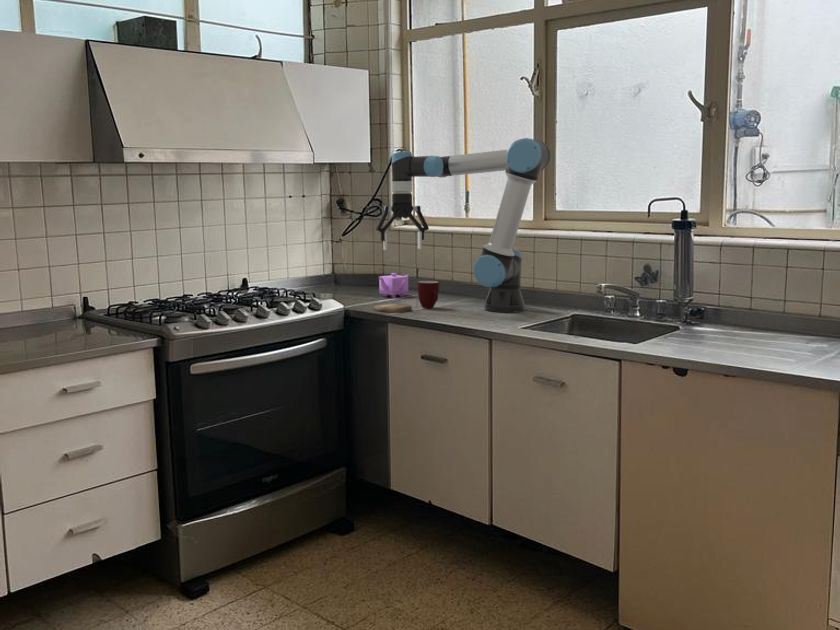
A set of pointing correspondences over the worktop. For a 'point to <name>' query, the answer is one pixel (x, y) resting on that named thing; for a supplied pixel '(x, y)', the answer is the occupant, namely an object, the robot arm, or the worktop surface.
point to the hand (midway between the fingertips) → (402, 249)
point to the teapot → (393, 285)
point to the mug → (428, 293)
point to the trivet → (392, 308)
